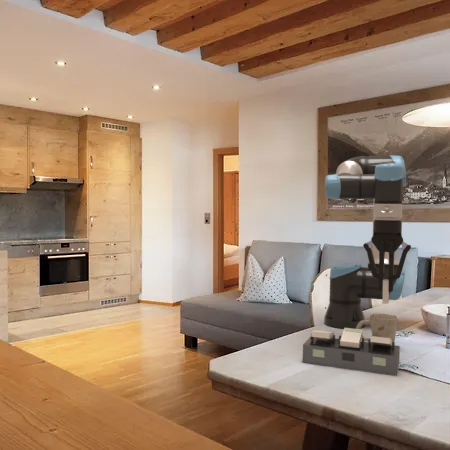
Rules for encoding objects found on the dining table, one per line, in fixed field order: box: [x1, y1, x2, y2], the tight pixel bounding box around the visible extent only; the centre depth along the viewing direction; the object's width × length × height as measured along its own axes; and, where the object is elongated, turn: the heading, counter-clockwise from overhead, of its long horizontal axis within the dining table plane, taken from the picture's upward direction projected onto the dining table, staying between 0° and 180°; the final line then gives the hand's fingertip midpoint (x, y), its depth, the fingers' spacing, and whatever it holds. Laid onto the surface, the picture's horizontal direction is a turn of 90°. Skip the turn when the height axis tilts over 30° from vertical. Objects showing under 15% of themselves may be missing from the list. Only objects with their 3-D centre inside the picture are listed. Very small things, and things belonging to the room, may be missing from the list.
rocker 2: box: [340, 328, 363, 348], centre depth 130 cm, size 8×5×2 cm, turn 157°
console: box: [302, 334, 401, 377], centre depth 130 cm, size 11×25×7 cm, turn 67°
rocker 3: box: [370, 335, 392, 346], centre depth 127 cm, size 8×5×2 cm, turn 157°
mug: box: [356, 312, 399, 342], centre depth 147 cm, size 8×13×10 cm, turn 78°
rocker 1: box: [310, 329, 335, 339], centre depth 133 cm, size 8×5×2 cm, turn 157°
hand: (385, 302), depth 131 cm, fingers closed
